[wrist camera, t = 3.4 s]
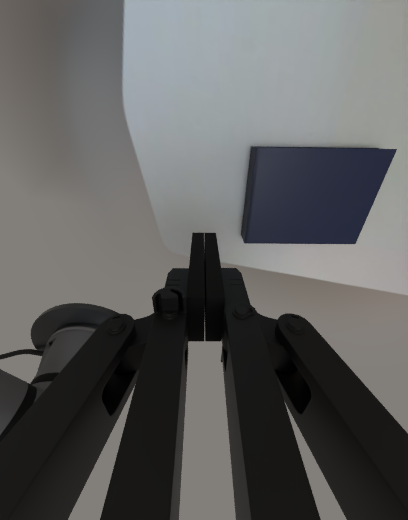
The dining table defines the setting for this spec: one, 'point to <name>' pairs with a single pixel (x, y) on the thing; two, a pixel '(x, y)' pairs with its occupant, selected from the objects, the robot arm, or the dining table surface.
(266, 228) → the book
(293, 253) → the dining table surface
